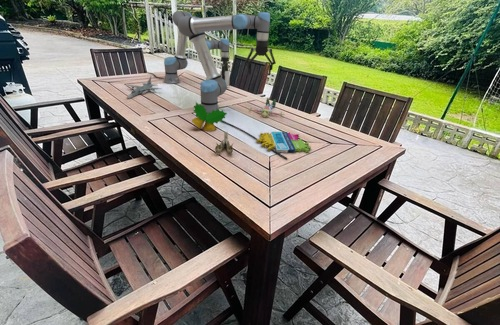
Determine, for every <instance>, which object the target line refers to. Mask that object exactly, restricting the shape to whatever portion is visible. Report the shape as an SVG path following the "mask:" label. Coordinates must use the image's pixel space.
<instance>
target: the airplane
mask: <svg viewBox="0 0 500 325" xmlns="http://www.w3.org/2000/svg"><path fill="white" fill-rule="evenodd" d="M152 78H153V77H152V75H150V76H149V78H148V80H147V82H146V83H145V82H142V86H141V85H133V84H127V85H126V86H127V87H131V88H130V91H131V92H130V93H129V94H128V95H127V97H126V99H132V98H134V97H136V96H137V95H140V94H142V95H145V94H146V93H148V92H150V91H151V93H153V92H155V90H162V87H161V88H160V87H155V86H157V84H154V83H153V84H152Z"/></svg>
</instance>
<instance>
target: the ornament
mask: <svg viewBox="0 0 500 325" xmlns="http://www.w3.org/2000/svg"><path fill="white" fill-rule="evenodd" d="M219 110H220V108H219V109H217V110H216V111H214V110H212V112H211V113H208V112H206V109H204V106H201V103H198V102H195V105H194V106H193V112H194V113H195V118H192V119H191V122H192V123H193V125H195V127H197V128H198V129H202V130H203V131H206V132H212V131H213V132H214V131H215V130H216V126H215V124H218V123H219V122H222V121H223V119H226V115H227V114H228V113H227V112H224V110H223V109H221V110H220V111H219ZM207 113H208V115H207ZM214 123H215V124H214ZM222 123H223V122H222Z"/></svg>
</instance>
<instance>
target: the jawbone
mask: <svg viewBox="0 0 500 325" xmlns="http://www.w3.org/2000/svg"><path fill="white" fill-rule="evenodd" d="M223 135H224V136H223V140H222V139H221V142H220V144H218V142H215V144H216V146H215V148H214V149H215V152H214V154H215V155H217V156H218V155H220V153H221V152H223V151H224V150H226V152H227V153H228V155H229V156H233V155H234V154H233V153H234V148H233V144H234V143H230V140H228V139H229V138H228V137H229V136H228V135H229V133H228V131H226V132H224V134H223Z"/></svg>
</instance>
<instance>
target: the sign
mask: <svg viewBox="0 0 500 325" xmlns="http://www.w3.org/2000/svg"><path fill="white" fill-rule="evenodd" d="M299 136H300V135H299V134H298V133H296V134H294V133H291V132H287V131H270V132H264V133H263V132H260V133H259V139H258V138H257V140H256V143H257V144H261V148H263V147H264V148H265V149H267V151H268V152H271V151H272V150H271V149H273V150H274V149H275V151H276V152H278V153H279V154H281V153H283V154H285V153H287V154H288V153H290V154H293V153H296V152H298V153H301V152H305V153H310V151H311V150H312V149H311V148H312V146H309V142H304V141H303V139H302V138H299ZM261 142H263V143H261ZM268 146H269V147H268Z"/></svg>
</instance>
